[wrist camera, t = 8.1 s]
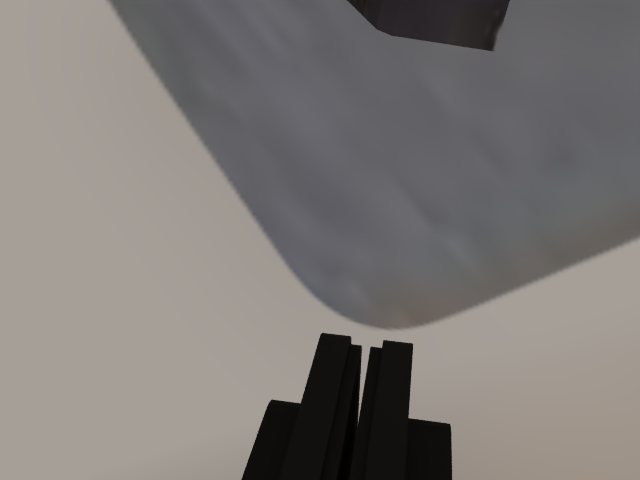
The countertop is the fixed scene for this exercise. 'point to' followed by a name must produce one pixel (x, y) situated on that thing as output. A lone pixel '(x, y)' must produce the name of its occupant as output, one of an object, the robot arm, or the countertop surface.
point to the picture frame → (438, 20)
